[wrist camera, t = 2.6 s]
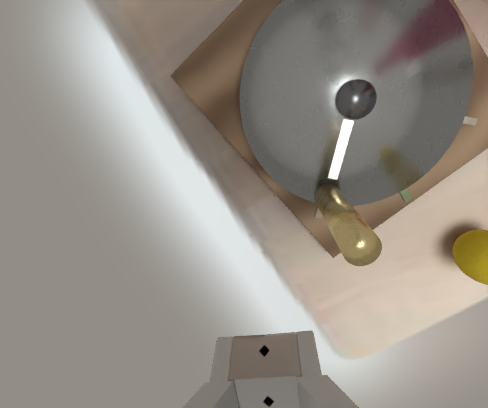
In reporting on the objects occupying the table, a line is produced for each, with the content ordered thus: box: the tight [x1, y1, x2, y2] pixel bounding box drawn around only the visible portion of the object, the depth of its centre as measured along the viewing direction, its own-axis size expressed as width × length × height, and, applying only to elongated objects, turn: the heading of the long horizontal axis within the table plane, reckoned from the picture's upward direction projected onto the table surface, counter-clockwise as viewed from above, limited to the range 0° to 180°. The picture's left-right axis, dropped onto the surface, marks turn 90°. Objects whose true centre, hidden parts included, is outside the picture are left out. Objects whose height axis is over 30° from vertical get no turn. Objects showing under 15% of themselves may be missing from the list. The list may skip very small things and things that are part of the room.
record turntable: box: [240, 0, 473, 266], centre depth 27 cm, size 22×22×13 cm
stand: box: [171, 0, 488, 258], centre depth 34 cm, size 27×24×2 cm
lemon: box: [453, 230, 488, 285], centre depth 37 cm, size 6×6×8 cm
